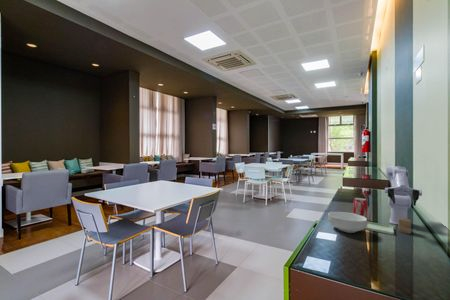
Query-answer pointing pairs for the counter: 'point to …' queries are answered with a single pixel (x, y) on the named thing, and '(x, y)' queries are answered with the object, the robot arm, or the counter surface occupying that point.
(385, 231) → the tray
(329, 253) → the counter surface
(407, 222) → the walnut block
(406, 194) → the robot arm
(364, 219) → the cereal bowl
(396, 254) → the counter surface
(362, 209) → the soda can
